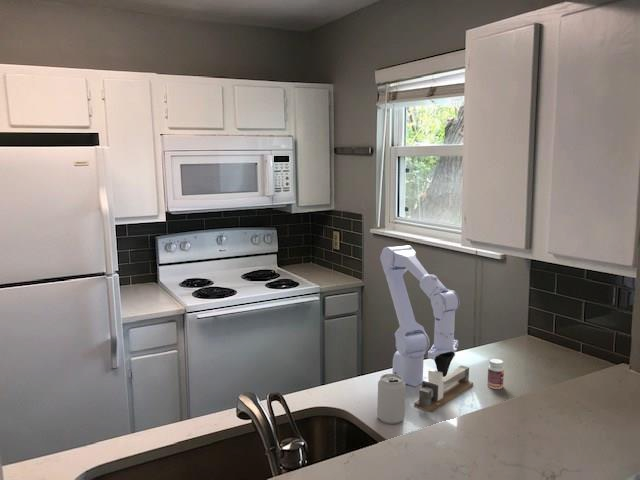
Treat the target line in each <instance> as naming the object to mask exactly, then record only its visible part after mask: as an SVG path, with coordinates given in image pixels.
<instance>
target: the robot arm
mask: <svg viewBox="0 0 640 480" xmlns="http://www.w3.org/2000/svg"><path fill="white" fill-rule="evenodd" d="M379 257H380V258H379V259H380V262H381V266H382V267H381V268H382V270H383V273H384V274H385V278H386V281H387V284H388V285H387V286H388V289H389V292H390V295H391V296H390V297H391V299H392V302H393V307H394V311H395V314H396V318H397V321H398V325H399V327H398V328H397V330H396V331H395V333H394V337H395V348H396V351H395V352H394V354H393V358H392V373H391V374H397V375H400V376H401V377H402V378H403V381H404V382H405V384H406V385H409V386H411V387H415V388H417V386H419V385H422V381H424V380H426V379H428V376H427V377H426V376H424V357H425V355H426V353H427V359H430V360H433V362H434V363H435V367H436V371H439V372H442V373H443V377H445V376H446V375H447V374H448V373H449V369H450V365H451V363H452V361H453V359H454V357H455V356H456V352H458V351H457V350H458V347H459V340H458V339H455V323H456V322H455V321H456V320H455V319H456V317H455V316H456V310H458V308H459V307H460V305H461V304H460V303H461V300H460V297H459V294H457V292H456V291H455V290H452V289H449V288H447V287H446V286H445V285H444V284H443V283H442V282H441V281H440V280H439V278H438V276H437V275H436V274H434V273H433V274H429V273H428V271H427V270H426V268H424V266H423V265H422V264H421V262H420V260H419V259H418V258H417V252H416V251H415V250H414V248H413V247H412V246H411V245H410V244H409V245H408V244H405V245H400V246H385V247H384V248H383V249H382V251H381V254H380V256H379ZM407 271H409V272H410V273H411V274H412V276H414V278H416V279H417V281H419V288H420V289H421V290H422V292H424V294H425V295H426V296H427V297H428V299H430V304H431V308H432V313H433V314H432V315H433V317H434V328H433V329H434V330H433V344H432V346H431V348H430V344H431V343H430V342H431V341H430V338H429V335H428V334H427V333H426V331H425V328H424V326H422V325H421V324H419V323H418V322H417V321H416V319H415V317H416V316H415V314H414V311H413V307H412V305H411V300H410V298H409V294H408V289H407V288H406V283H405V280H404V275H405V273H406V272H407ZM429 348H430V349H429Z"/></svg>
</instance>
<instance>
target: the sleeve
mask: <svg viewBox="0 0 640 480" xmlns="http://www.w3.org/2000/svg"><path fill="white" fill-rule="evenodd" d="M427 372H428V373H427V375H428V376H427V378H428V379H426V380H424V381H426V382H429V383H433V384H436V385H438V401H439V400H440V399H442V398H443V384H444V382H442V378H443V373H442V372H439V371H437V370H436V369H432V368H430V369H428V371H427ZM433 397H434V396H433Z"/></svg>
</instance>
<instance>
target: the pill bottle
mask: <svg viewBox="0 0 640 480" xmlns="http://www.w3.org/2000/svg"><path fill="white" fill-rule="evenodd" d="M504 372H505V367H504V361H503V360H502V359H498V358H491V359H490V360H489V365H488V368H487V381H486V382H487V383H486V384H487V387H488V388H490V389H494V390H500V389H503V387H504V376H505V373H504Z"/></svg>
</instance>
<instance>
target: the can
mask: <svg viewBox="0 0 640 480" xmlns="http://www.w3.org/2000/svg"><path fill="white" fill-rule="evenodd" d="M406 385H407V384H405V382H404V381H403V378H402V377H401V376H400V375H397V374H392V373H386V374H382V375H381V376H380V379H378V381H377V409H376V410H377V412H376V415H377V418H378V419H379V420H380V421H381V422H383V423H386V424H389V425H394V424H395V425H397V424H399V423H401V422H402V421H403V420H404V419H405V417H406V416H405V415H406V387H407V386H406Z"/></svg>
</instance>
